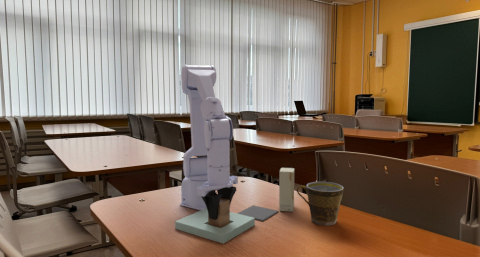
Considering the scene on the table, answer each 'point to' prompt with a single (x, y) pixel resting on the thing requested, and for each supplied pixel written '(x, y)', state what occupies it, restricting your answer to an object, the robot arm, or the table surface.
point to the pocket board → (200, 226)
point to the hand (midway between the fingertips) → (218, 216)
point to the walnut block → (221, 214)
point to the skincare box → (286, 189)
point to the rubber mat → (258, 212)
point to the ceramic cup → (323, 201)
